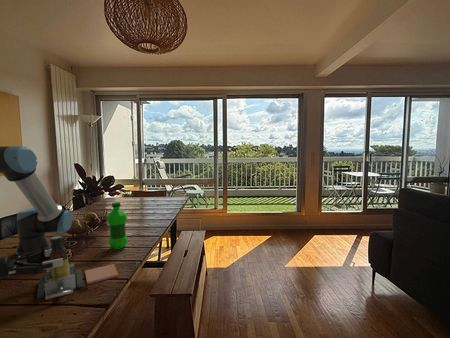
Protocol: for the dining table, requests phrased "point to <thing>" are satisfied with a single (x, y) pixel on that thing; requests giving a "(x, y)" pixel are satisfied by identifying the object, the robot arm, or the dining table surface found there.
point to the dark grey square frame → (59, 284)
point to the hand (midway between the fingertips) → (63, 255)
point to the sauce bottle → (58, 257)
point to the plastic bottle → (117, 227)
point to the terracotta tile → (101, 273)
